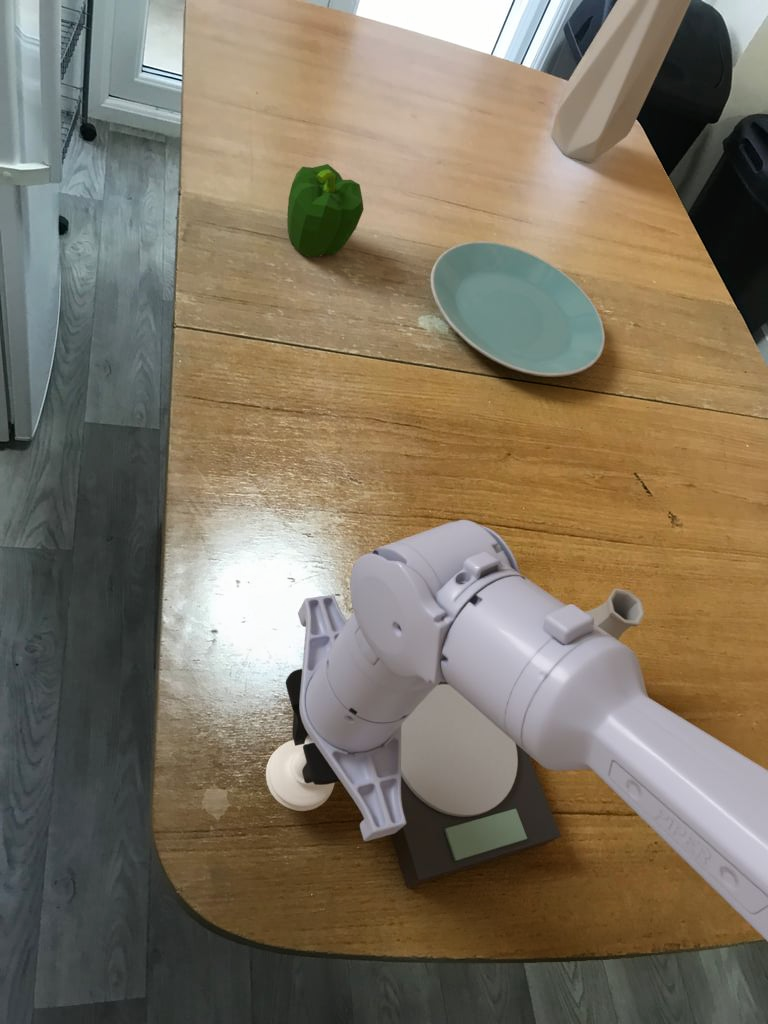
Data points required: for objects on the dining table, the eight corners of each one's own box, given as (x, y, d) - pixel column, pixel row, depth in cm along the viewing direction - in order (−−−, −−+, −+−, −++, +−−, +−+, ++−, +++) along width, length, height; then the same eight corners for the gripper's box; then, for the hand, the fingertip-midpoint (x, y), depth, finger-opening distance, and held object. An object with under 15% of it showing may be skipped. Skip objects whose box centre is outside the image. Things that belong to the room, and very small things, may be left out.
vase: (570, 119, 136) (693, -109, 111) (618, 163, 133) (756, -61, 108) (522, 126, 129) (641, -116, 104) (571, 173, 126) (707, -65, 101)
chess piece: (258, 748, 59) (291, 687, 51) (324, 736, 61) (364, 676, 53) (274, 818, 56) (311, 765, 49) (342, 802, 58) (387, 749, 51)
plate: (422, 362, 91) (432, 343, 89) (423, 237, 104) (431, 218, 102) (604, 412, 96) (617, 395, 94) (582, 287, 109) (594, 270, 107)
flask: (522, 677, 72) (580, 624, 64) (536, 610, 77) (592, 553, 69) (597, 711, 72) (664, 662, 65) (606, 642, 77) (669, 589, 69)
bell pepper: (324, 215, 100) (348, 140, 92) (359, 262, 97) (387, 189, 89) (262, 222, 95) (282, 143, 88) (296, 271, 92) (320, 195, 85)
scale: (545, 844, 64) (565, 834, 62) (406, 888, 59) (421, 878, 56) (480, 676, 71) (495, 661, 68) (349, 701, 65) (361, 686, 63)
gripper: (486, 787, 44) (400, 851, 54) (399, 553, 51) (337, 649, 61) (364, 819, 41) (297, 881, 51) (290, 565, 48) (244, 665, 58)
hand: (312, 756), depth 56 cm, fingers closed on chess piece
